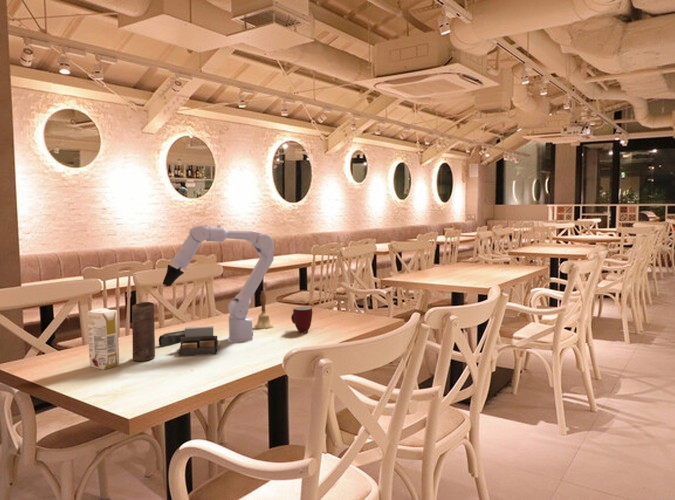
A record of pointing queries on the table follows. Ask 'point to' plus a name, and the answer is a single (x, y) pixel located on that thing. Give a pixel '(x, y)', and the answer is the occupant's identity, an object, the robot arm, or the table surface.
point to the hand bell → (263, 315)
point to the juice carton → (103, 338)
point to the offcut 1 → (189, 345)
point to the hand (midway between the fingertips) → (166, 285)
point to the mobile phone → (171, 338)
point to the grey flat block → (199, 331)
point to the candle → (143, 331)
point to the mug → (302, 318)
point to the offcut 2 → (206, 344)
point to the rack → (198, 346)
